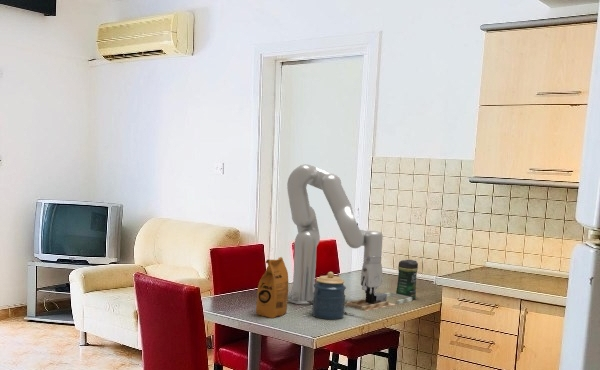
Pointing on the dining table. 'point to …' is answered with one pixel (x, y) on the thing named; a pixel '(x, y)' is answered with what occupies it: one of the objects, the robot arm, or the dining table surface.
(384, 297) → the grey cube
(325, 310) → the canister
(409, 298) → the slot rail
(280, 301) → the coffee package
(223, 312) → the dining table surface
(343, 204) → the robot arm
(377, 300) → the gray cube
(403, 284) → the coffee jar
